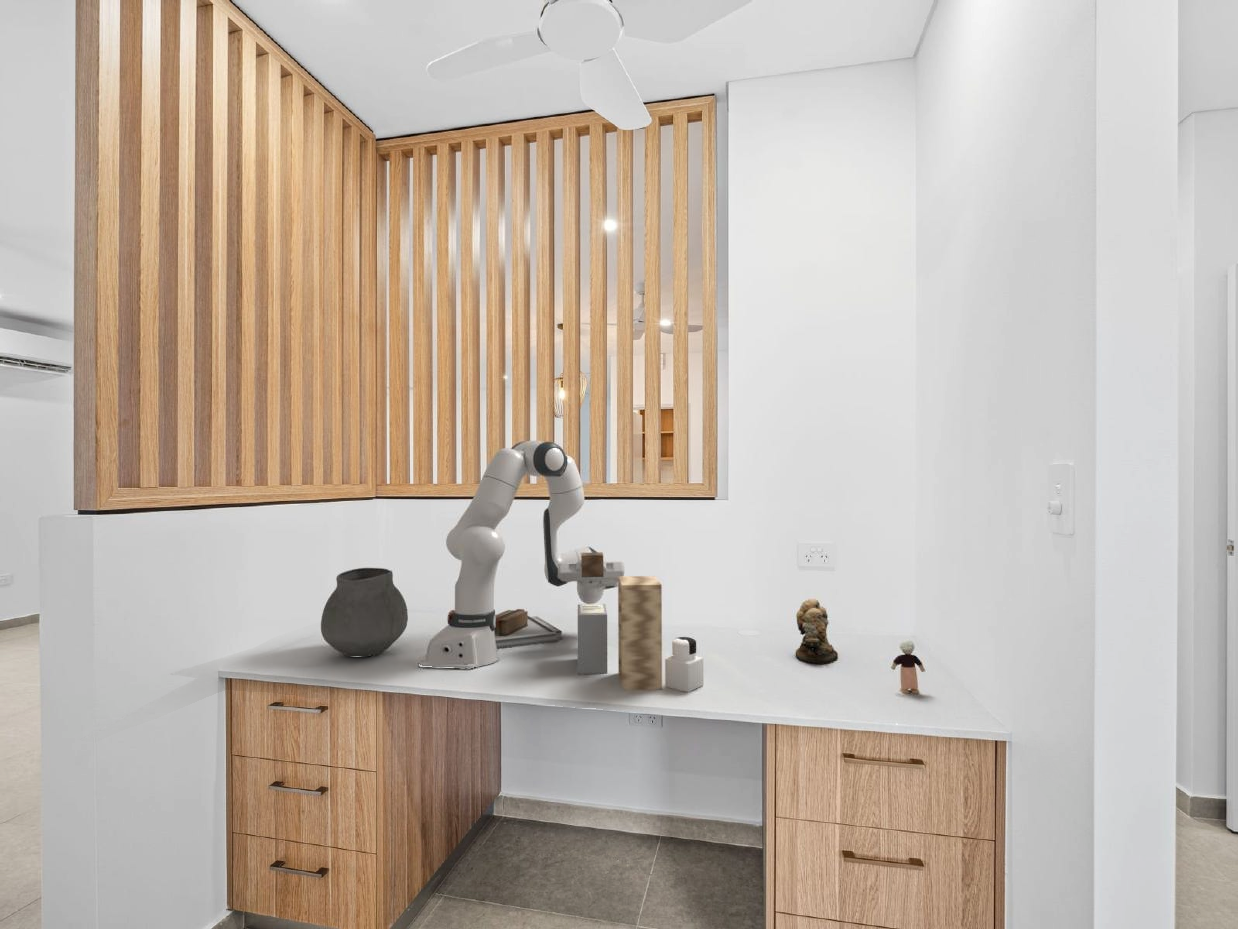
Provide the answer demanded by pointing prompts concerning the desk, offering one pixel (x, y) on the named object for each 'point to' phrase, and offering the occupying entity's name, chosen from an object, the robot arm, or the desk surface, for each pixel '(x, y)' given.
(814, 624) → the brown lumpy piece
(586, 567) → the brown wooden bar
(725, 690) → the desk surface
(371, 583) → the ceramic pot
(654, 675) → the tall wooden pillar
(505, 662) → the desk surface
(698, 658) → the medicine bottle
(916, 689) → the grandmother figurine
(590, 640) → the plinth
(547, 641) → the grey tray
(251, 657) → the desk surface
